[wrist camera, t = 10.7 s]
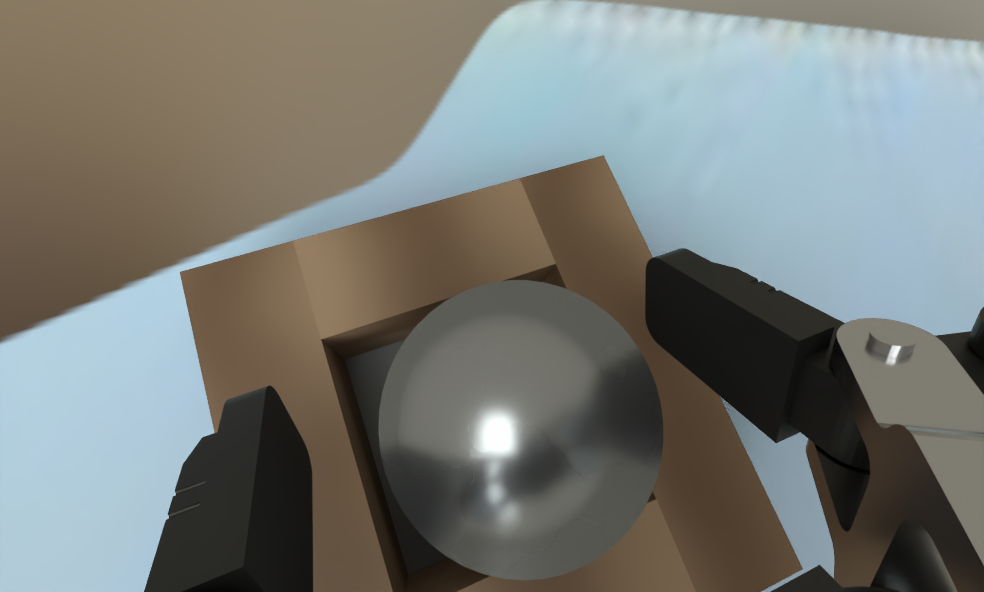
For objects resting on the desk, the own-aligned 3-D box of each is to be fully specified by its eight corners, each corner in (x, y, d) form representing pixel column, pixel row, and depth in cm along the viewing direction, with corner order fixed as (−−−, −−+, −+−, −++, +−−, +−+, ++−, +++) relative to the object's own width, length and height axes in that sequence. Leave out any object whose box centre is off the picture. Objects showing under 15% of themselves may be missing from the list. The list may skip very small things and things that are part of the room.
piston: (512, 341, 17) (597, 245, 8) (560, 465, 16) (715, 507, 7) (390, 384, 16) (338, 326, 7) (432, 520, 15) (431, 643, 6)
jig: (578, 190, 20) (617, 123, 16) (743, 551, 16) (852, 592, 12) (210, 296, 17) (132, 249, 13) (318, 769, 13) (264, 926, 9)
